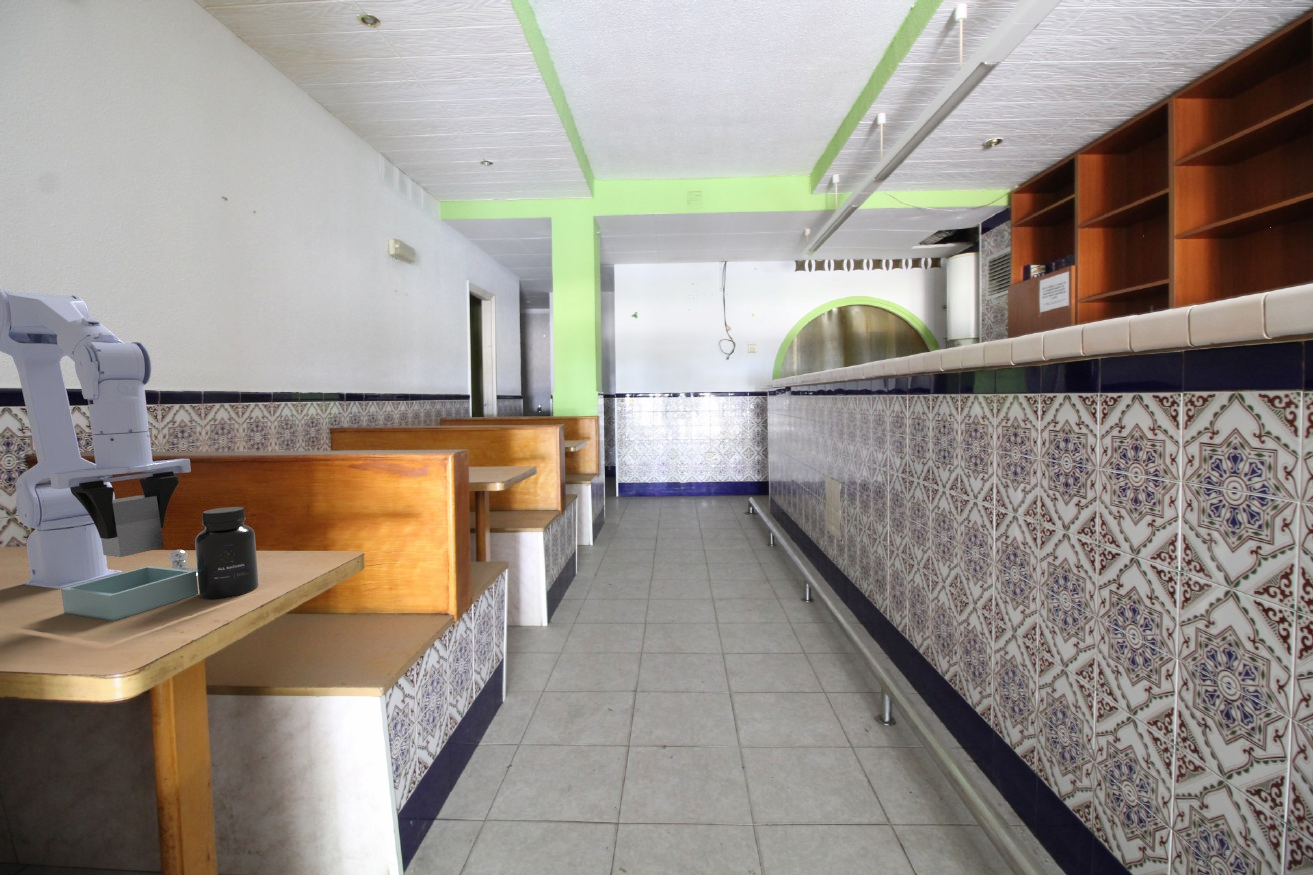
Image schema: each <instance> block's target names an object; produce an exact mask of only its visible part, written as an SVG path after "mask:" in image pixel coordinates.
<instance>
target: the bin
mask: <svg viewBox="0 0 1313 875" xmlns="http://www.w3.org/2000/svg"><path fill="white" fill-rule="evenodd" d="M60 591H61V597H62V598H61V599H62V606H63V614H66V615H71V616H78V617H85V618H90V619H97V620H102V621H103V620H104V621H110V622H115V621H118V620H119V621H120V620H121V619H126V618H128V617H131V616H134V615H138V614H140V613H144V612H146V611H149V610H152V609H156V608H159V607H162V606H164V605H168V604H171V603H175V602H178V601H180V600H184V599H187V598H189V597H193V596H196V595H199V584H198V575H196V571H190V570H181V569H172V567H161V566H154V565H147V566H144V567H141V568H136V569H131V570H128V571H125V572H122V573H119V574H115V575H112V576H108V577H104V578H100V579H96V580H93V581H89V582H85V583H81V584H77V585H74V586H70V587H66V588H62V589H60Z"/></svg>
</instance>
